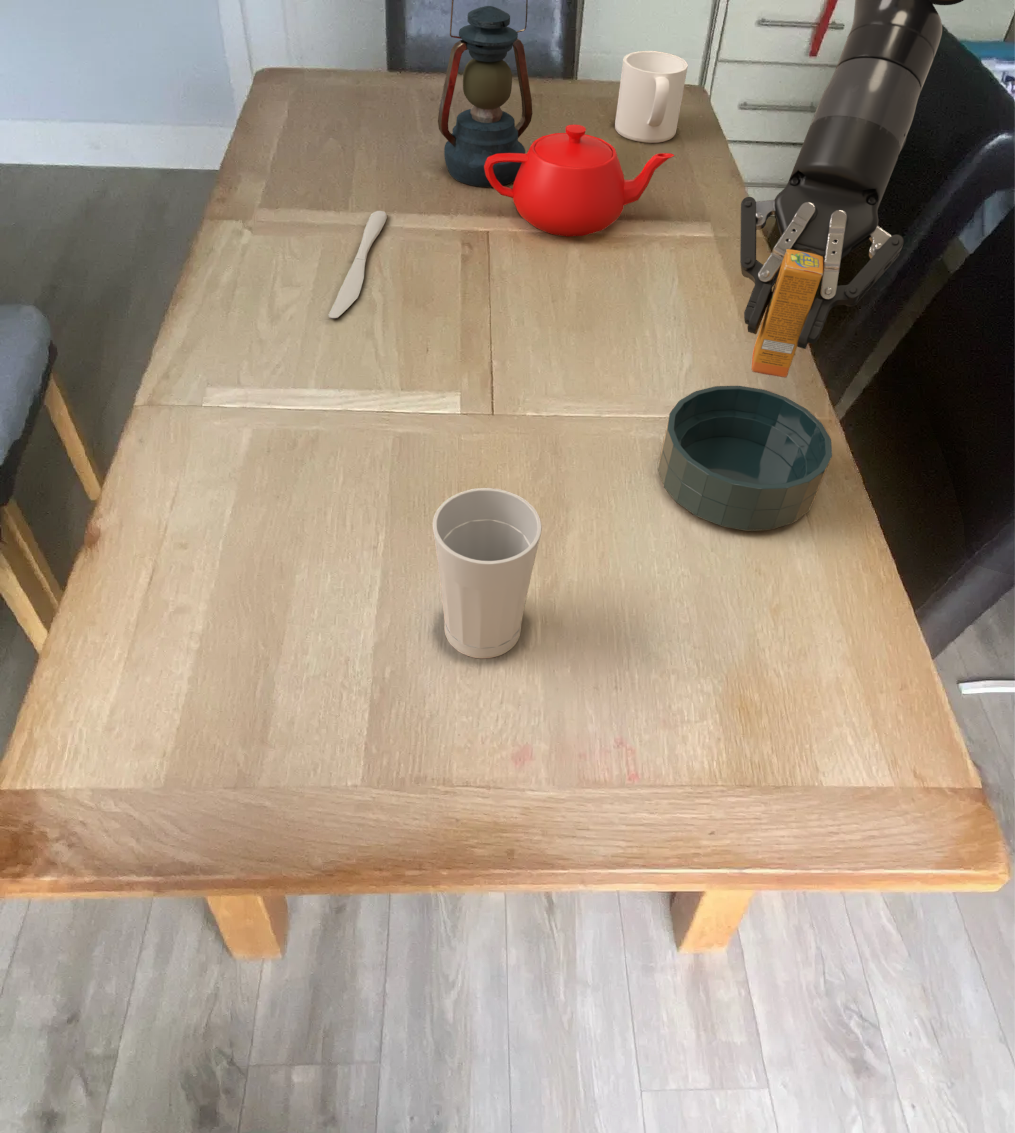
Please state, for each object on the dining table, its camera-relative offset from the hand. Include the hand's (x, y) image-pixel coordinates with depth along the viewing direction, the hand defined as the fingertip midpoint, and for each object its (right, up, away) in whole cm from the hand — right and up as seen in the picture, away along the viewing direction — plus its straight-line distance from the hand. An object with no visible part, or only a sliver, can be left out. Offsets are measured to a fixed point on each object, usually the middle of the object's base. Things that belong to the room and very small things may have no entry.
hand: (777, 337), depth 75 cm
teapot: (-13, +29, +50) cm, 60 cm away
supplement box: (+1, -2, +4) cm, 5 cm away
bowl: (0, -11, +14) cm, 18 cm away
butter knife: (-41, +19, +39) cm, 60 cm away
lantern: (-26, +40, +59) cm, 76 cm away
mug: (0, +51, +72) cm, 88 cm away
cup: (-24, -24, 0) cm, 34 cm away
